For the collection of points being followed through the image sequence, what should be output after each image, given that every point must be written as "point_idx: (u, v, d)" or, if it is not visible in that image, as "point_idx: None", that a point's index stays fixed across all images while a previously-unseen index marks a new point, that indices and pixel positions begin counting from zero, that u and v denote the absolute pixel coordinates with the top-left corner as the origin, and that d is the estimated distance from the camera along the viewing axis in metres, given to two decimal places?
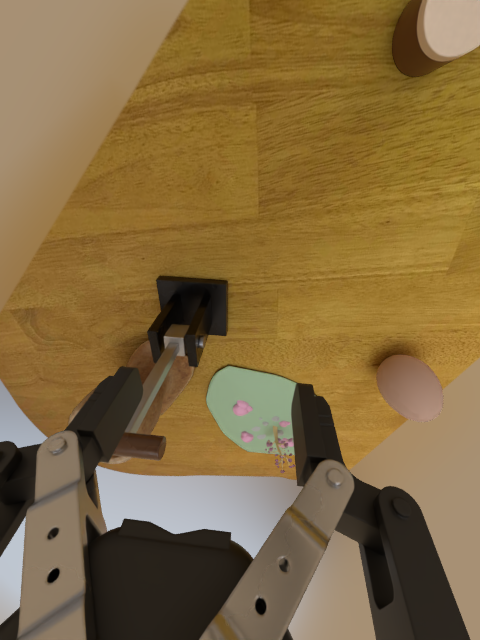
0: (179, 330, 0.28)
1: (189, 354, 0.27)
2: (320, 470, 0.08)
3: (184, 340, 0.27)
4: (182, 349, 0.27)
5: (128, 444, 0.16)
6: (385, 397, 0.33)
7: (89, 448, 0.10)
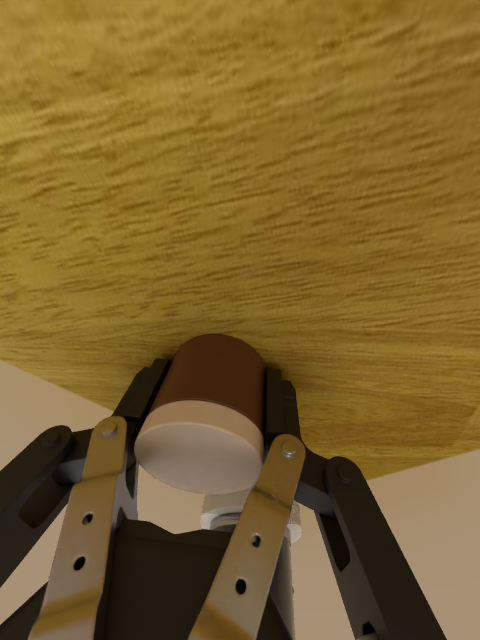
0: None
1: None
2: (276, 443, 0.09)
3: None
4: None
5: None
6: None
7: (135, 433, 0.10)
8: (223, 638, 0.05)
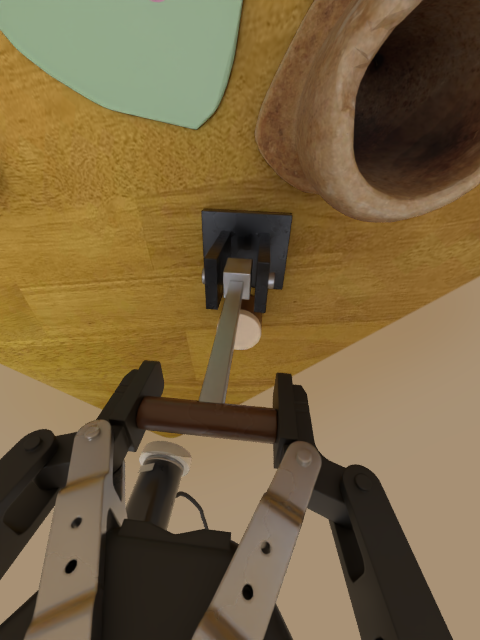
0: None
1: (214, 281, 0.20)
2: (291, 450, 0.09)
3: (223, 292, 0.21)
4: (225, 282, 0.20)
5: None
6: None
7: (120, 437, 0.10)
8: None
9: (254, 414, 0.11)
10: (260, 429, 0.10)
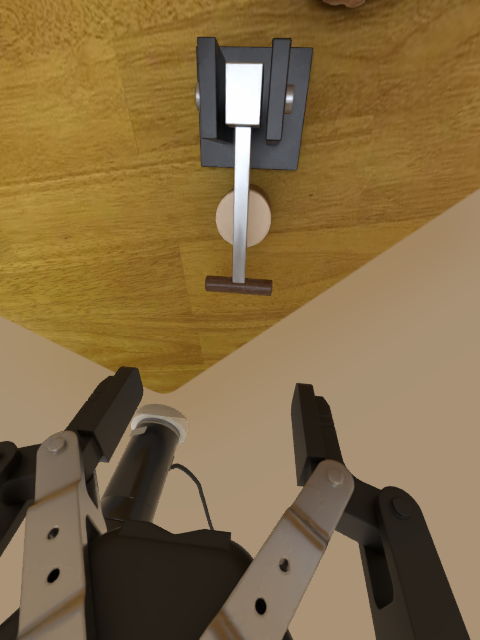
0: None
1: (211, 82, 0.14)
2: (320, 470, 0.08)
3: None
4: (230, 125, 0.17)
5: None
6: None
7: (89, 448, 0.10)
8: None
9: (260, 290, 0.22)
10: (263, 294, 0.23)
